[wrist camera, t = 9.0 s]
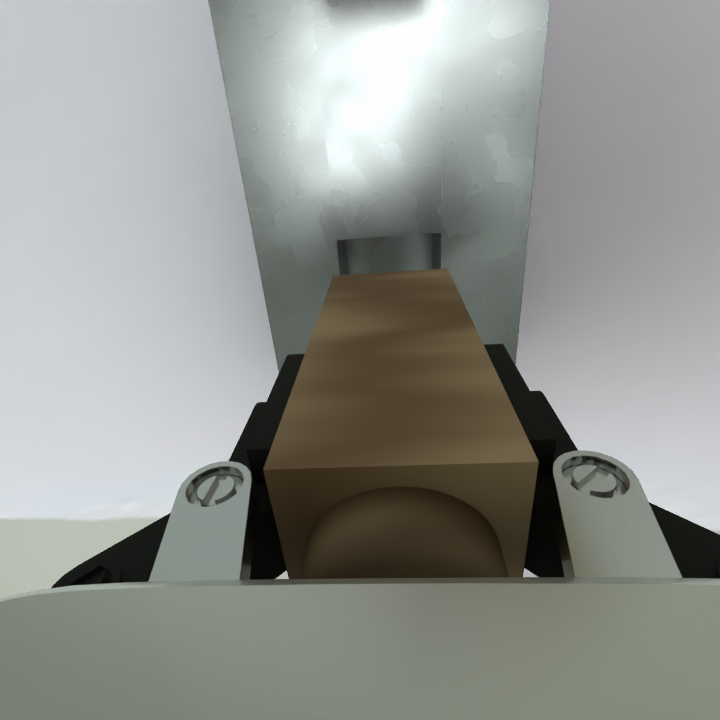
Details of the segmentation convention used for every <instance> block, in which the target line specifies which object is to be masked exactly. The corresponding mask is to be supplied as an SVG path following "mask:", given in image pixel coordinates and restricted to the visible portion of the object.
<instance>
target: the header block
mask: <svg viewBox="0 0 720 720" xmlns="http://www.w3.org/2000/svg"><path fill="white" fill-rule="evenodd" d="M208 1H209V6H210V12H211V17H212V22H213V27H214V33H215V38H216V43H217V48H218V54H219V59H220V64H221V70H222V75H223V80H224V85H225V91H226V96H227V101H228V106H229V112H230V117H231V122H232V127H233V133H234V138H235V143H236V149H237V154H238V159H239V164H240V170H241V175H242V180H243V185H244V191H245V196H246V201H247V206H248V212H249V217H250V222H251V228H252V233H253V238H254V243H255V249H256V254H257V259H258V264H259V270H260V275H261V280H262V285H263V291H264V296H265V301H266V307H267V312H268V317H269V322H270V328H271V333H272V338H273V343H274V349H275V354H276V359H277V365H278V370H279V372H280V370H281V368H282V366H283V363H284V361H285V359H286V357H287V355H288V354H305V352H306V350H307V347H308V344H309V341H310V338H311V336H312V333H313V330H314V327H315V325H316V322H317V319H318V316H319V314H320V311H321V308H322V305H323V302H324V300H325V297H326V294H327V291H328V289H329V286H330V283H331V280H332V278H333V276H339V275H354V274H370V273H385V272H401V271H416V270H431V269H447V268H448V270H449V273H450V275H451V277H452V279H453V281H454V283H455V285H456V287H457V289H458V292H459V294H460V296H461V298H462V300H463V302H464V304H465V306H466V309H467V311H468V313H469V315H470V317H471V319H472V321H473V323H474V326H475V328H476V330H477V332H478V334H479V336H480V338H481V340H482V343H483V345H486V344H503V345H504V346H505V348H506V350H507V351H508V353H509V355H510V357H511V359H512V360H513V362H514V364H516V353H517V343H518V332H519V322H520V311H521V300H522V290H523V279H524V269H525V258H526V248H527V237H528V226H529V216H530V205H531V195H532V184H533V173H534V163H535V152H536V142H537V131H538V120H539V110H540V99H541V89H542V78H543V67H544V57H545V46H546V36H547V25H548V14H549V4H550V0H208Z"/></svg>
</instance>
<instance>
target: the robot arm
mask: <svg viewBox="0 0 720 720" xmlns="http://www.w3.org/2000/svg"><path fill="white" fill-rule="evenodd" d="M484 347H485V349H486V351H487V353H488V355H489V357H490V360H491V362H492V364H493V366H494V368H495V370H496V372H497V374H498V376H499V379H500V381H501V383H502V385H503V387H504V389H505V391H506V393H507V396H508V398H509V400H510V402H511V404H512V406H513V408H514V410H515V413H516V415H517V417H518V419H519V421H520V423H521V425H522V427H523V430H524V432H525V434H526V436H527V438H528V440H529V442H530V444H531V446H532V449H533V451H534V453H535V455H536V457H537V459H538V461H539V463H538V470H537V477H536V485H535V492H534V499H533V506H532V514H531V521H530V528H529V535H528V542H527V550H526V557H525V564H524V568H526V569H527V570H529V571H530V572H532V573H533V574H535V575H536V577H533V578H530V577H526V578H525V577H508V578H354V579H277V577H278V576H279V575H281V574H282V573H283V572H285V571H287V568H286V564H285V560H284V556H283V552H282V547H281V543H280V539H279V535H278V530H277V526H276V522H275V518H274V514H273V509H272V505H271V501H270V497H269V492H268V488H267V484H266V480H265V475H264V471H263V469H264V466H265V463H266V460H267V457H268V455H269V452H270V449H271V446H272V444H273V441H274V438H275V435H276V433H277V430H278V427H279V424H280V421H281V419H282V416H283V413H284V410H285V408H286V405H287V402H288V399H289V397H290V394H291V391H292V388H293V385H294V383H295V380H296V377H297V374H298V372H299V369H300V366H301V363H302V361H303V358H304V355H305V354H288V355H287V357H286V359H285V361H284V363H283V366H282V368H281V370H280V372H279V375H278V377H277V379H276V382H275V384H274V386H273V388H272V391H271V393H270V395H269V397H268V400H267V402H259V403H257V404H256V405H255V407H254V409H253V411H252V413H251V415H250V418H249V420H248V422H247V424H246V426H245V428H244V430H243V432H242V434H241V436H240V439H239V441H238V443H237V445H236V447H235V449H234V451H233V453H232V455H231V457H230V460H229V461H225V462H217V463H213V464H209V465H207V466H205V467H203V468H200V469H198V470H197V471H195V472H194V473H193V474H191V475H190V476H189V477H188V478H187V479H186V480H185V481H184V482H183V483H182V485H181V487H180V488H179V490H178V493H177V496H176V499H175V502H174V505H173V508H172V511H171V513H170V514H168V515H166V516H164V517H163V518H161V519H159V520H157V521H156V522H154V523H152V524H150V525H149V526H147V527H145V528H144V529H142V530H140V531H138V532H136V533H134V534H133V535H131V536H129V537H127V538H126V539H124V540H122V541H121V542H119V543H117V544H115V545H113V546H112V547H110V548H108V549H106V550H105V551H103V552H101V553H100V554H97V555H96V556H94V557H92V558H90V559H89V560H87V561H85V562H83V563H82V564H80V565H78V566H77V567H75V568H74V569H72V570H71V571H69V572H68V573H66V574H65V575H64V576H63V577H62V578H60V579H59V581H57V582H56V583H55V584H54V585H53V586H52V588H51V589H43V590H36V591H31V592H27V593H22V594H18V595H13V596H9V597H4V598H0V720H720V535H719V534H717V533H714V532H712V531H710V530H708V529H706V528H704V527H701V526H699V525H697V524H695V523H693V522H691V521H688V520H686V519H684V518H682V517H680V516H678V515H675V514H673V513H671V512H669V511H667V510H664V509H662V508H660V507H658V506H656V505H654V504H651V503H649V502H648V500H647V498H646V495H645V493H644V491H643V489H642V486H641V484H640V482H639V480H638V478H637V477H636V475H635V474H634V472H633V471H632V470H631V469H629V468H628V467H627V466H626V465H625V464H624V463H622V462H620V461H618V460H616V459H614V458H613V457H610V456H607V455H604V454H601V453H598V452H592V451H578V450H577V448H576V446H575V445H574V443H573V442H572V440H571V438H570V437H569V435H568V433H567V432H566V430H565V428H564V427H563V425H562V423H561V422H560V420H559V419H558V417H557V415H556V414H555V412H554V410H553V409H552V407H551V405H550V404H549V402H548V401H547V399H546V397H545V396H544V394H543V393H542V392H541V391H529V389H528V387H527V385H526V383H525V382H524V380H523V378H522V376H521V375H520V373H519V371H518V369H517V367H516V366H515V364H514V362H513V360H512V359H511V357H510V355H509V353H508V351H507V350H506V348H505V346H504V345H503V344H486V345H484Z"/></svg>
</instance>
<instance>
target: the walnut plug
mask: <svg viewBox="0 0 720 720" xmlns="http://www.w3.org/2000/svg"><path fill="white" fill-rule="evenodd" d="M538 463H539V461H538V459H537V457H536V455H535V453H534V451H533V449H532V446H531V444H530V442H529V440H528V438H527V436H526V434H525V432H524V430H523V427H522V425H521V423H520V421H519V419H518V417H517V415H516V413H515V410H514V408H513V406H512V404H511V402H510V400H509V398H508V396H507V393H506V391H505V389H504V387H503V385H502V383H501V381H500V379H499V376H498V374H497V372H496V370H495V368H494V366H493V364H492V362H491V360H490V357H489V355H488V353H487V351H486V349H485V347H484V345H483V343H482V340H481V338H480V336H479V334H478V332H477V330H476V328H475V326H474V323H473V321H472V319H471V317H470V315H469V313H468V311H467V309H466V306H465V304H464V302H463V300H462V298H461V296H460V294H459V292H458V289H457V287H456V285H455V283H454V281H453V279H452V277H451V275H450V273H449V270H448V268H447V269H431V270H416V271H401V272H385V273H370V274H354V275H339V276H333V278H332V280H331V283H330V286H329V289H328V291H327V294H326V297H325V300H324V302H323V305H322V308H321V311H320V314H319V316H318V319H317V322H316V325H315V327H314V330H313V333H312V336H311V338H310V341H309V344H308V347H307V350H306V352H305V355H304V358H303V361H302V363H301V366H300V369H299V372H298V374H297V377H296V380H295V383H294V385H293V388H292V391H291V394H290V397H289V399H288V402H287V405H286V408H285V410H284V413H283V416H282V419H281V421H280V424H279V427H278V430H277V433H276V435H275V438H274V441H273V444H272V446H271V449H270V452H269V455H268V457H267V460H266V463H265V466H264V469H263V471H264V475H265V480H266V484H267V488H268V492H269V497H270V501H271V505H272V509H273V514H274V518H275V522H276V526H277V530H278V535H279V539H280V543H281V547H282V552H283V556H284V560H285V564H286V568H287V572H288V577H289V579H354V578H508V577H523V571H524V564H525V557H526V550H527V542H528V535H529V528H530V521H531V514H532V506H533V499H534V492H535V485H536V477H537V470H538Z"/></svg>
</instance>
